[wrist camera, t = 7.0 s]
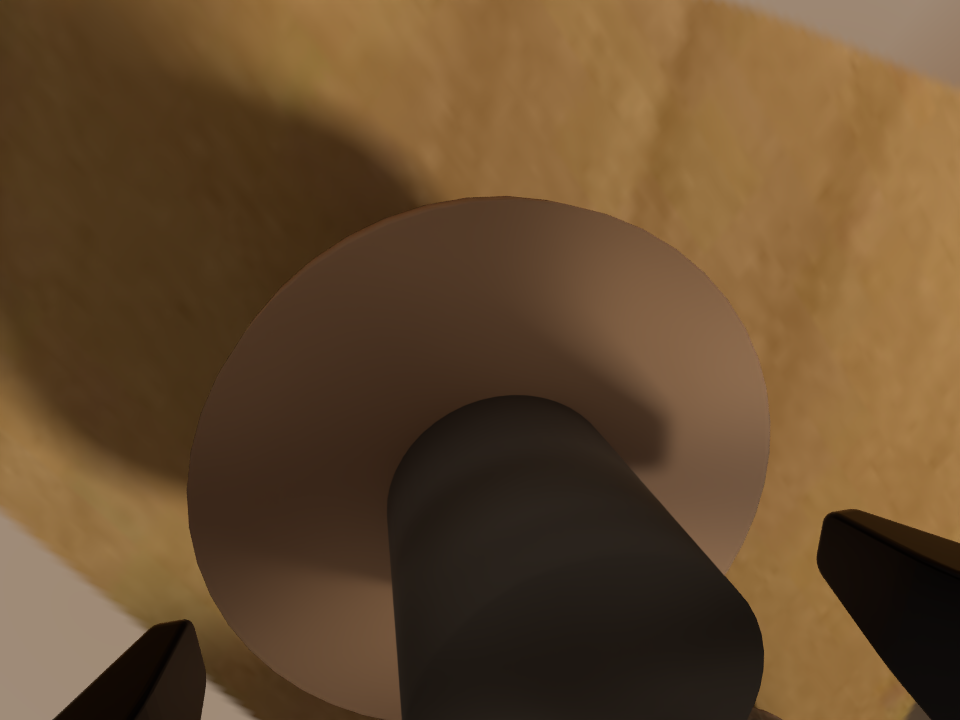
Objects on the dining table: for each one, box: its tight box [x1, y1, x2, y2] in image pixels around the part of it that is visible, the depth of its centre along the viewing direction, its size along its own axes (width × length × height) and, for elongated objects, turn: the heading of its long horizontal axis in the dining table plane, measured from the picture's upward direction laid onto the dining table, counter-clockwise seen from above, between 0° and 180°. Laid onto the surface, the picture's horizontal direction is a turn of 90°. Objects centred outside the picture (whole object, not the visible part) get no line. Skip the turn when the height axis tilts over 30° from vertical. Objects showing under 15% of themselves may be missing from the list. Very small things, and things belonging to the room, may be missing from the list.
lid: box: [187, 196, 770, 720], centre depth 8 cm, size 10×10×5 cm
